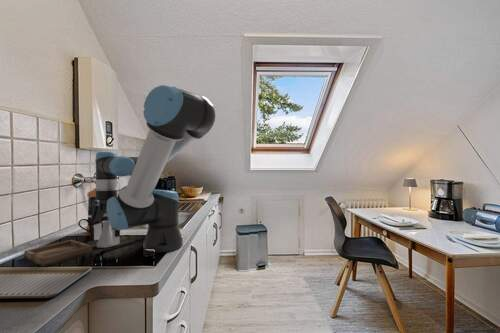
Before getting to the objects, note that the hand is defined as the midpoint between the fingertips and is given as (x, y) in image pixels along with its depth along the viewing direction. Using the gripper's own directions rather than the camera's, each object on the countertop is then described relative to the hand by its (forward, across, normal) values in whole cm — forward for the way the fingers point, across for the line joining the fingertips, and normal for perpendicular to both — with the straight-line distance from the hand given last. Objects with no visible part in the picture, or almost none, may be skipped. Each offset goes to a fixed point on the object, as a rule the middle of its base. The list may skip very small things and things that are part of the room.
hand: (106, 241), depth 102 cm
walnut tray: (+1, +4, +15) cm, 16 cm away
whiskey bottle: (+2, +21, -10) cm, 23 cm away
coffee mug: (+2, +15, -4) cm, 16 cm away
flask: (+2, 0, 0) cm, 2 cm away
